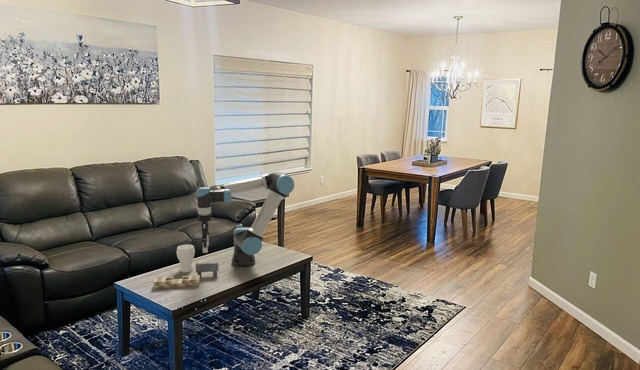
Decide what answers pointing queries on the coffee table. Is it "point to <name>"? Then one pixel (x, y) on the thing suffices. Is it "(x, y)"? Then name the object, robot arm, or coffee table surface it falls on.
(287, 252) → the coffee table surface
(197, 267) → the grey block
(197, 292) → the coffee table surface
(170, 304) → the coffee table surface
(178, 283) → the rail
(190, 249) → the cup
